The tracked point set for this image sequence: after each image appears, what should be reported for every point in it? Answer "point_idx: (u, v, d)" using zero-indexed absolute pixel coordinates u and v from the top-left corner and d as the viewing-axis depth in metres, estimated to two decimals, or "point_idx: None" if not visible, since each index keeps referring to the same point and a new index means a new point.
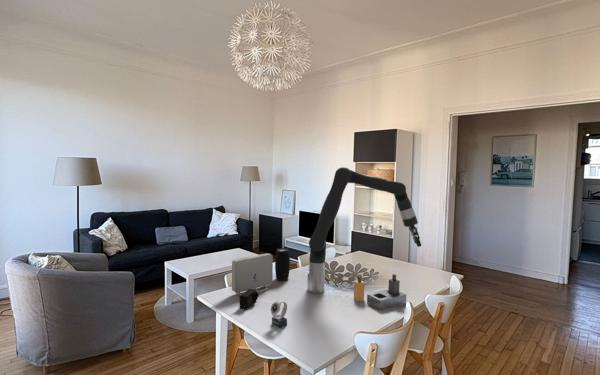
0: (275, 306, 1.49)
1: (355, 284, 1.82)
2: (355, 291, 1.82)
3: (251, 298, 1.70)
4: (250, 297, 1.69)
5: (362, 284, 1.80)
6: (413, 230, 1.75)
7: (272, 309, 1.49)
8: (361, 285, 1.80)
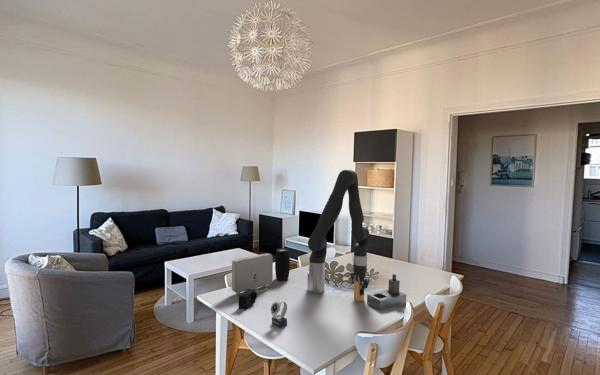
0: (275, 306, 1.49)
1: (355, 284, 1.82)
2: (355, 291, 1.82)
3: (250, 298, 1.70)
4: (249, 297, 1.69)
5: (362, 284, 1.80)
6: (366, 281, 1.76)
7: (272, 309, 1.49)
8: None
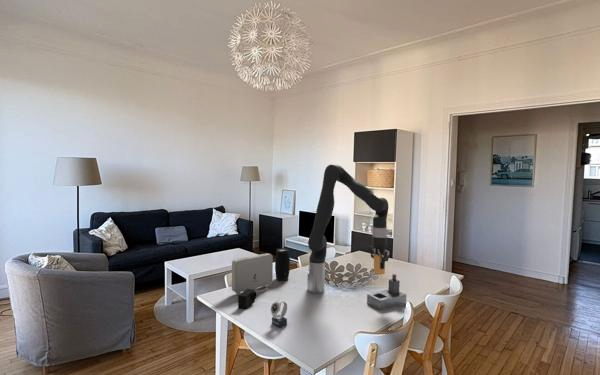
0: (275, 306, 1.49)
1: (375, 258, 1.74)
2: (375, 265, 1.75)
3: (250, 298, 1.71)
4: (249, 297, 1.69)
5: (382, 257, 1.73)
6: (387, 253, 1.68)
7: (272, 309, 1.49)
8: None
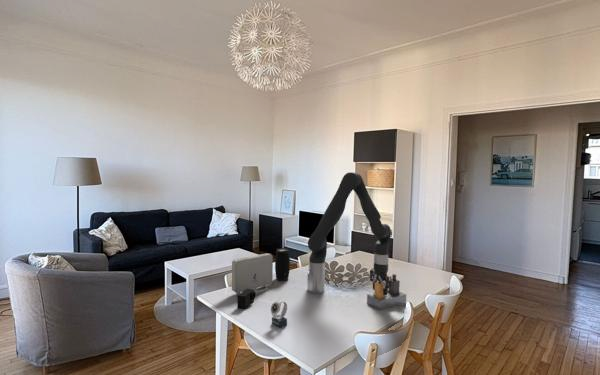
0: (275, 306, 1.49)
1: (375, 286, 1.75)
2: (375, 293, 1.75)
3: (249, 297, 1.71)
4: (248, 297, 1.69)
5: None
6: (389, 278, 1.68)
7: (272, 309, 1.49)
8: (382, 286, 1.73)
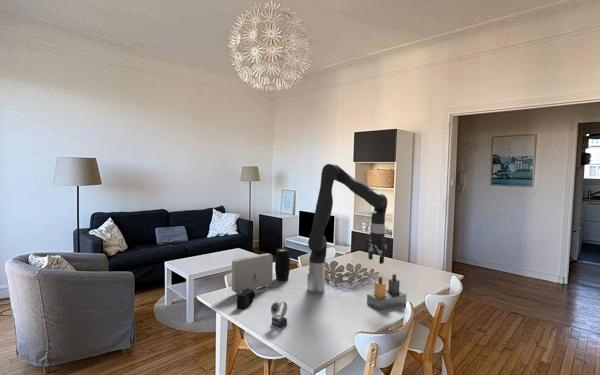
0: (275, 306, 1.49)
1: (375, 286, 1.75)
2: (375, 293, 1.75)
3: (248, 297, 1.71)
4: (247, 297, 1.69)
5: (383, 285, 1.73)
6: (385, 246, 1.70)
7: (272, 309, 1.49)
8: (382, 286, 1.73)
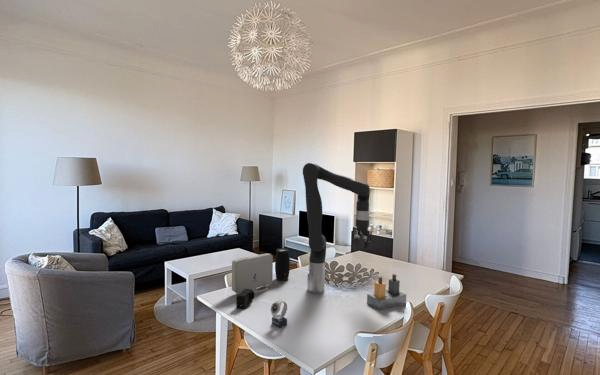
0: (275, 306, 1.49)
1: (375, 286, 1.75)
2: (375, 293, 1.75)
3: (248, 297, 1.71)
4: (247, 297, 1.70)
5: (383, 285, 1.73)
6: (369, 232, 1.79)
7: (272, 309, 1.49)
8: (382, 286, 1.73)
